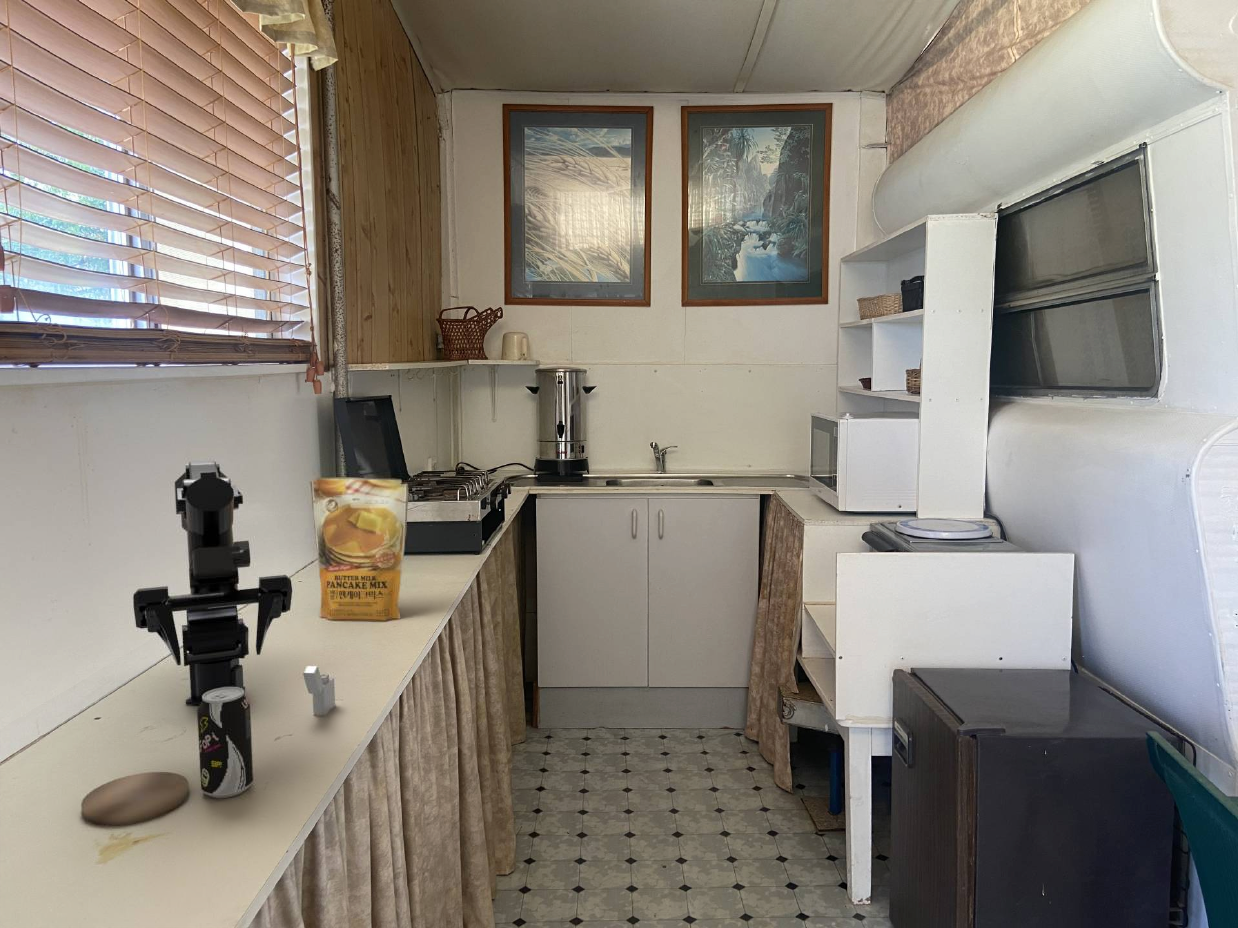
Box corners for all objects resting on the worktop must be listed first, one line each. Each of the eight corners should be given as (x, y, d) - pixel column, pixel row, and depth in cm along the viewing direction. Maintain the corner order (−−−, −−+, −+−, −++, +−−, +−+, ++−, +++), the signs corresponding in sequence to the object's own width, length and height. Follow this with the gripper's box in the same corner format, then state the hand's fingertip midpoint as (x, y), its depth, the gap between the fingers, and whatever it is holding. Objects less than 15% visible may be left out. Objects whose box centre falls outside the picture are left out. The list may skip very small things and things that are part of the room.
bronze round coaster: (60, 824, 99) (59, 816, 99) (116, 779, 110) (116, 771, 110) (159, 825, 99) (158, 817, 99) (206, 779, 110) (205, 772, 110)
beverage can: (190, 794, 107) (185, 696, 105) (231, 775, 112) (227, 681, 110) (223, 805, 104) (218, 705, 103) (264, 785, 109) (260, 689, 108)
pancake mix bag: (321, 611, 185) (316, 475, 182) (413, 613, 184) (409, 476, 180) (308, 620, 178) (302, 480, 175) (403, 622, 177) (399, 481, 174)
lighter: (324, 704, 135) (322, 652, 134) (335, 704, 134) (333, 652, 134) (304, 723, 128) (302, 668, 127) (316, 723, 127) (314, 669, 127)
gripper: (129, 526, 113) (131, 636, 104) (287, 515, 121) (301, 616, 112) (135, 575, 121) (137, 681, 112) (283, 561, 129) (296, 659, 120)
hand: (219, 658), depth 114 cm, fingers open, 9 cm apart
